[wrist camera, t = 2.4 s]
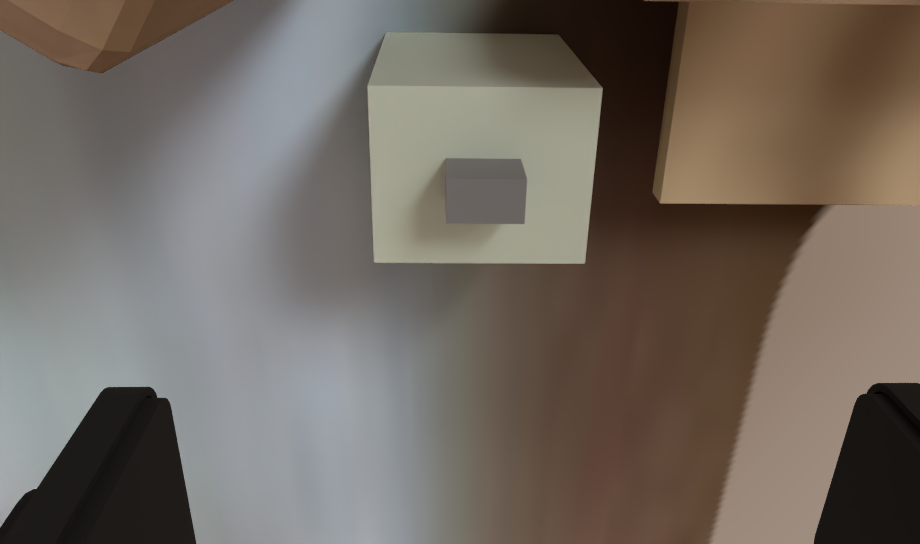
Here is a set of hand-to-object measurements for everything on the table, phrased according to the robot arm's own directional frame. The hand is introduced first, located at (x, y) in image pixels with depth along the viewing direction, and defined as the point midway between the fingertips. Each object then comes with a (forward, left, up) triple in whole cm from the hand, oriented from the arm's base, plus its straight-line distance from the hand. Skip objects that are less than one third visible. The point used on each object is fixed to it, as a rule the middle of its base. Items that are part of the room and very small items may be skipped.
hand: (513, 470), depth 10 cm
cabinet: (0, 0, -19) cm, 19 cm away
